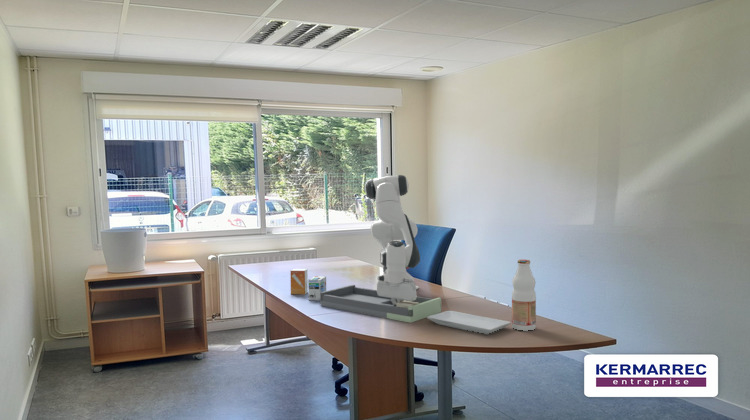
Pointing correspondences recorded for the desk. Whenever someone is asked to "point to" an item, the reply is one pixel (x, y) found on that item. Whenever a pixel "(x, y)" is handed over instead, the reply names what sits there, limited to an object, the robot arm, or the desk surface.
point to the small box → (299, 281)
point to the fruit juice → (523, 298)
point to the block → (405, 304)
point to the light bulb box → (316, 287)
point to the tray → (468, 322)
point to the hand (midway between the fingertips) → (396, 308)
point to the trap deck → (378, 304)
